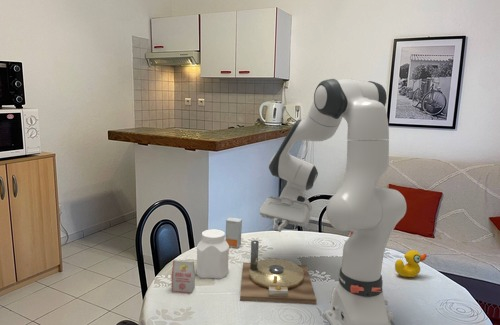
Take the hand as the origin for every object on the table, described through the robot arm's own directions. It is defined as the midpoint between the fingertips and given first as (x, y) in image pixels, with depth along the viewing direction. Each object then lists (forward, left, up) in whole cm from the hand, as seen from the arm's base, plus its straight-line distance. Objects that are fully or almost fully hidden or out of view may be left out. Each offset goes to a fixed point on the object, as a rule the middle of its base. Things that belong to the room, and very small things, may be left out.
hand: (276, 230), depth 135 cm
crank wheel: (-10, 0, -13) cm, 16 cm away
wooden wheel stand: (-12, 0, -15) cm, 19 cm away
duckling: (-2, -50, -15) cm, 52 cm away
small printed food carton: (-19, +31, -15) cm, 39 cm away
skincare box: (+19, +17, -15) cm, 30 cm away
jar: (-6, +23, -15) cm, 28 cm away
